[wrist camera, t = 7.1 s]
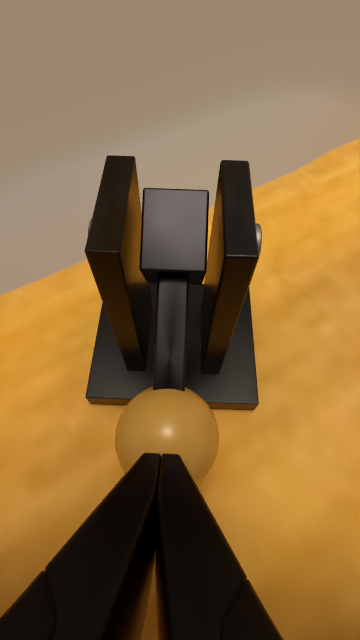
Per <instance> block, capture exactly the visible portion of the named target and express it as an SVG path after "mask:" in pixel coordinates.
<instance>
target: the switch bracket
mask: <svg viewBox="0 0 360 640" xmlns="http://www.w3.org/2000/svg"><path fill="white" fill-rule="evenodd" d="M141 224H142V214H141V207H140V198H139V188H138V179H137V171H136V162H135V157H134V156H107V158H106V162H105V166H104V170H103V175H102V179H101V183H100V187H99V192H98V196H97V200H96V205H95V209H94V214H93V217H92V219H91V220H90V223H89V228H88V239H87V243H86V247H85V254H86V256H87V259H88V262H89V265H90V268H91V270H92V273H93V276H94V279H95V282H96V284H97V287H98V290H99V293H100V296H101V298H102V301H103V303H102V308H101V314H100V319H99V325H98V330H97V336H96V341H95V347H94V352H93V358H92V364H91V369H90V375H89V380H88V386H87V391H86V399H87V400H88V401H89V402H90V403H91V404H115V405H127V404H128V403H129V402H130V401H131V400H132V399H133V398H134V397H135V396H136V395H137V394H139V393H140V392H142V391H144V390H146V389H148V388H150V387H153V372H154V348H155V325H156V302H157V283H147V281H146V280H145V278H144V276H143V274H142V273H141V271H140V269H139V267H140V245H141ZM261 243H262V231H261V226H260V225H259V224H255V215H254V206H253V197H252V187H251V178H250V168H249V162H248V161H234V160H233V161H232V160H222V161H221V164H220V171H219V178H218V186H217V193H216V201H215V208H214V215H213V223H212V230H211V238H210V245H209V253H208V260H207V269H206V275H205V282H204V284H201V285H189V292H188V319H187V346H186V373H185V388H188V389H190V390H192V391H193V392H195V393H196V394H198V395H199V396H200V397H201V398H202V399H203V400H204V401H205V402H206V403H207V405H208V406H209V407H210V408H216V409H241V410H254V409H255V408H256V407H257V406H258V404H259V402H258V390H257V378H256V365H255V353H254V341H253V329H252V317H251V305H250V292H249V285H250V282H251V279H252V276H253V273H254V270H255V267H256V265H257V262H258V259H259V255H260V251H261Z"/></svg>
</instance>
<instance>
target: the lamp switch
mask: <svg viewBox="0 0 360 640" xmlns="http://www.w3.org/2000/svg"><path fill="white" fill-rule="evenodd" d="M208 210H209V191H207V190H187V189H159V188H144V189H143V203H142V224H141V245H140V267H139V269H140V271H141V273H142V274H143V276H144V278H145V280H146V281H147V283H157V302H156V325H155V348H154V372H153V387H150V388H148V389H146V390H144V391H142V392H140V393H139V394H137V395H136V396H135V397H134V398H133V399H132V400H131V401H130V402H129V403H128V404H127V406H126V407H125V408H124V410H123V412H122V414H121V416H120V418H119V421H118V423H117V427H116V434H115V447H116V453H117V456H118V460H119V462H120V464H121V466H122V468H123V470H124V471H125V473H127V472H128V470H129V469H130V468H131V467H132V466H133V465H134V463H135V462H136V461H137V460H138V459H139V458H140V456H141V455H142V454H143V453H146V452H147V453H160V454H161V456H162V454H164V453H172V454H179V455H180V457H181V458H182V460H183V462H184V464H185V466H186V467H187V469H188V471H189V473H190V475H191V476H192V478H193V480H194V482H195V484H197V483H198V482H200V481H201V480H202V479H203V478H204V477H205V475H206V474H207V473H208V472H209V470H210V469H211V467H212V465H213V463H214V460H215V458H216V455H217V450H218V444H219V433H218V427H217V423H216V419H215V417H214V414H213V412H212V411H211V409H210V407H209V406H208V405H207V403H206V402H205V401H204V400H203V399H202V398H201V397H200V396H199V395H198V394H196V393H195V392H193V391H192V390H190V389H188V388H185V373H186V346H187V319H188V292H189V285H201V284H202V282H203V279H204V276H205V274H206V269H207V239H208Z"/></svg>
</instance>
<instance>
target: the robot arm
mask: <svg viewBox="0 0 360 640" xmlns="http://www.w3.org/2000/svg"><path fill="white" fill-rule="evenodd" d="M155 554H156V603H157V633H158V640H283V638H282V636H281V635H280V633H279V632H278V630H277V628H276V627H275V625H274V623H273V621H272V620H271V618H270V616H269V615H268V613H267V611H266V610H265V608H264V606H263V604H262V603H261V601H260V599H259V597H258V596H257V594H256V592H255V590H254V588H253V587H252V585H251V583H250V581H249V580H246V579H247V576H246V574H245V572H244V571H243V569H242V567H241V565H240V563H239V562H238V560H237V558H236V556H235V554H234V553H233V551H232V549H231V547H230V545H229V543H228V542H227V540H226V538H225V536H224V534H223V533H222V531H221V529H220V527H219V525H218V524H217V522H216V520H215V518H214V516H213V514H212V513H211V511H210V509H209V507H208V505H207V504H206V502H205V500H204V498H203V496H202V495H201V493H200V491H199V489H198V487H197V485H196V484H195V482H194V480H193V478H192V476H191V475H190V473H189V471H188V469H187V467H186V466H185V464H184V462H183V460H182V458H181V457H180V455H179V454H172V453H164V454H162V456H161V454H160V453H147V452H146V453H143V454H142V455H141V456H140V458H139V459H138V460H137V461H136V462H135V463H134V465H133V466H132V467H131V468H130V469H129V470H128V472H127V473H126V474H125V475H124V476H123V477H122V479H121V480H120V481H119V482H118V483H117V484H116V485H115V487H114V488H113V489H112V490H111V491H110V492H109V494H108V495H107V496H106V497H105V498H104V499H103V501H102V502H101V503H100V504H99V505H98V506H97V508H96V509H95V510H94V511H93V512H92V513H91V515H90V516H89V517H88V518H87V519H86V520H85V522H84V523H83V524H82V525H81V526H80V527H79V529H78V530H77V531H76V532H75V533H74V534H73V536H72V537H71V538H70V539H69V540H68V541H67V543H66V544H65V545H64V546H63V547H62V548H61V550H60V551H59V552H58V553H57V554H56V555H55V557H54V558H53V559H52V560H51V561H50V562H49V564H48V565H47V566H46V567H45V571H41V572H40V574H39V575H38V576H37V577H36V578H35V580H34V581H33V582H32V583H31V584H30V585H29V587H28V588H27V589H26V590H25V591H24V592H23V593H22V594H21V596H20V597H19V598H18V599H17V600H16V601H15V602H14V603H13V604H12V606H11V607H10V608H9V609H8V610H7V611H6V612H5V613H4V614H3V616H2V617H1V618H0V640H141V636H142V630H143V625H144V619H145V614H146V608H147V603H148V598H149V592H150V587H151V581H152V576H153V570H154V563H155Z"/></svg>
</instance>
